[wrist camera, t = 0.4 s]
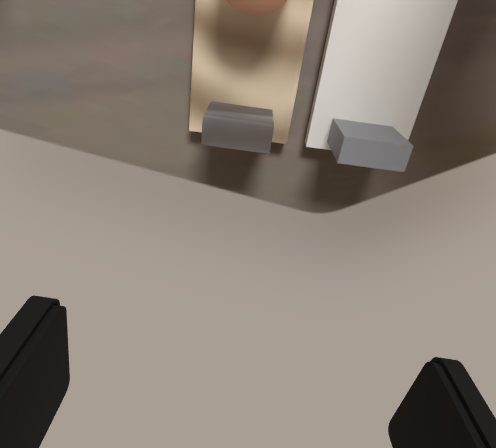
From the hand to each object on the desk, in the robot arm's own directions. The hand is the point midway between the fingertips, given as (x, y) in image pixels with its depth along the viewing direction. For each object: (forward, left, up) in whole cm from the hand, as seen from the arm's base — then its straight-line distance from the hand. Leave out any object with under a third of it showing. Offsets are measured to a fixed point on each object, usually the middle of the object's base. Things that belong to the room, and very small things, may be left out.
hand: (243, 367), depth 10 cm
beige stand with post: (-6, -1, -32) cm, 33 cm away
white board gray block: (-6, +11, -32) cm, 35 cm away
